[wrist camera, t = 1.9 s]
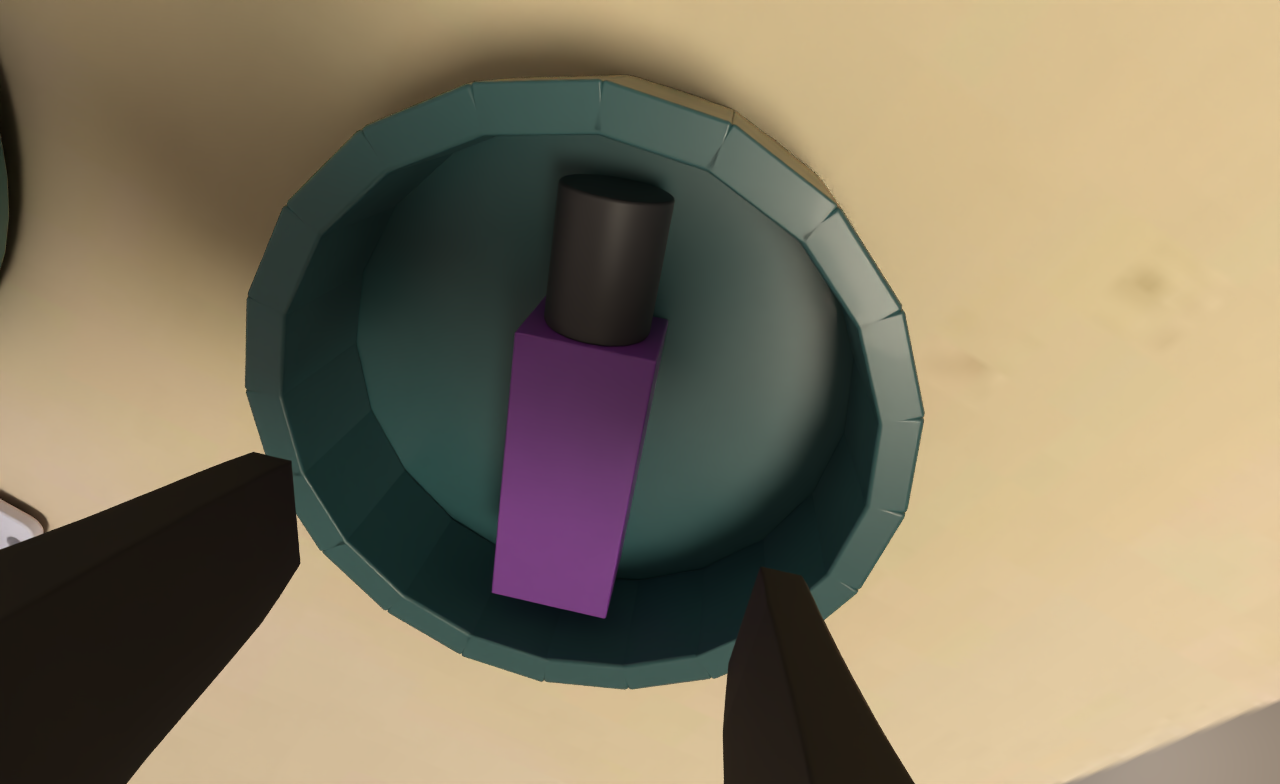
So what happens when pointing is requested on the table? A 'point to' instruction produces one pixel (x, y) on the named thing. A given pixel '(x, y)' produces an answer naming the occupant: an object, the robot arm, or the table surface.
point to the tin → (482, 361)
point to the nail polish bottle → (582, 396)
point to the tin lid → (3, 204)
